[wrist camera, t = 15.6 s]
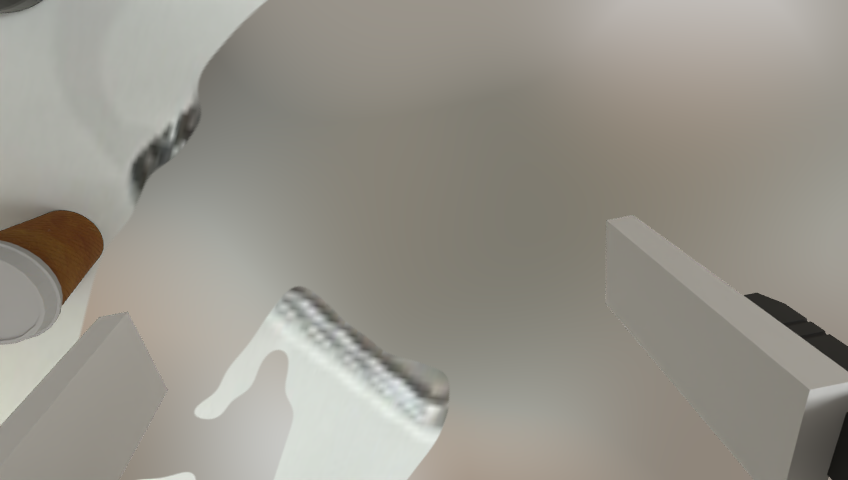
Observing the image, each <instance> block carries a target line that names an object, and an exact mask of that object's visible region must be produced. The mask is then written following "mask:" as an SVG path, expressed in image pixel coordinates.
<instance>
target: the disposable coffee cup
mask: <svg viewBox="0 0 848 480" xmlns="http://www.w3.org/2000/svg"><path fill="white" fill-rule="evenodd" d="M102 251H103V239H102V235H101V233H100V232H99V230H98V228H97V227H96V226H95V225H94V224H93V223H92V222H91V221H89V220H88V219H87V218H85V217H84V216H82V215H80V214H77V213H74V212H70V211H62V210H59V211H53V212H50V213H47V214H45V215H42V216H39V217H37V218H34V219H31V220H29V221H26V222H23V223H21V224H18V225H15V226H13V227H10V228H7V229H5V230H2V231H0V345H1V344H12V343H18V342H20V341H22V340H25V339H29V338H32V337H35V336H38V335H40V334H42V333H44V332H45V331H46V330H48V329H49V328H50V327H51V326H52V325H53V324H54V323H55V321H56V320H57V318H58V316H59V314H60V312H61V306H62V305H63V304H64V302H65V301H66V300H67V298H68V297H69V296H70V294H71V293H72V292H73V290H74V289H75V288H76V286H77V285H78V284H79V282H81V280H82V278H84V276H85V275H86V274H87V272H88V271H89V270H90V268H91V267H92V266H93V264H94V263H95V262H96V260H97V259H98V258H99V257H100V255H101V254H102Z"/></svg>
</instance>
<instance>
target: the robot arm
mask: <svg viewBox="0 0 848 480" xmlns="http://www.w3.org/2000/svg"><path fill="white" fill-rule="evenodd" d="M40 1H42V0H0V13H9V12H16V11H20V10H23V9H26V8H29V7H31V6H33V5H35V4H37V3H39V2H40ZM605 303H606V305H607V306H608V307H609V309H610V310H611V311H612V312H613V313H614V314H615V316H616V317H617V318H618V319H619V320H620V322H621V323H622V324H623V325H624V326H625V328H626V329H627V330H628V331H629V332H630V333H631V335H632V336H633V337H634V338H635V339H636V341H637V342H638V343H639V344H640V345H641V347H642V348H643V349H644V350H645V351H646V352H647V354H648V355H649V356H650V357H651V358H652V359H653V361H654V362H655V363H656V364H657V365H658V367H659V368H660V369H661V370H662V371H663V373H664V374H665V375H666V376H667V377H668V379H669V380H670V381H671V382H672V383H673V384H674V386H675V387H676V388H677V389H678V390H679V392H680V393H681V394H682V395H683V396H684V397H685V398H686V400H687V401H688V402H689V403H690V405H691V406H692V407H693V408H694V409H695V411H696V412H697V413H698V414H699V415H700V417H701V418H702V419H703V420H704V421H705V422H706V424H707V425H708V426H709V427H710V428H711V429H712V431H713V432H714V433H715V434H716V436H717V437H718V438H719V439H720V440H721V441H722V443H723V444H724V445H725V446H726V447H727V449H728V450H729V451H730V452H731V453H732V455H733V456H734V457H735V458H736V459H737V460H738V462H739V463H740V464H741V465H742V466H743V468H744V469H745V470H746V471H747V472H748V473H749V475H750V476H751V477H752V478H753V479H754V480H828V477H830V478H831V479H832V480H848V346H846V345H845V344H843V343H842V342H840V341H839V340H837V339H836V338H835V337H833V336H831V335H830V334H829V335H826V333H825V331H824V330H823V329H821V328H820V327H818V326H817V325H815V324H814V323H812V322H807V319H806V318H805V317H803V316H802V315H801V314H799V313H798V312H796V311H795V310H793V309H792V308H790V307H789V306H787V305H786V304H784V303H782V302H779V301H777V300H774V299H771V298H769V297H766V296H764V295H761V294H759V293H754V294H748V295H742V294H741V293H739V292H738V291H737V290H735V289H734V288H733V287H731V286H730V285H728V284H727V283H726V282H724V281H723V280H722V279H720V278H719V277H718V276H716V275H715V274H713V273H712V272H711V271H709V270H708V269H707V268H705V267H704V266H702V265H701V264H700V263H698V262H697V261H696V260H694V259H693V258H691V257H690V256H689V255H687V254H686V253H685V252H683V251H682V250H681V249H679V248H678V247H676V246H675V245H674V244H672V243H671V242H670V241H668V240H667V239H665V238H664V237H663V236H661V235H660V234H658V233H657V232H656V231H654V230H653V229H652V228H650V227H649V226H648V225H646V224H645V223H643V222H642V221H641V220H639V219H638V218H637V217H635V216H634V215H631V216H626V217H621V218H616V219H611V220H606V299H605ZM167 391H168V389H167V387H166V385H165V383H164V381H163V379H162V377H161V375H160V373H159V371H158V369H157V367H156V365H155V364H154V362H153V360H152V358H151V356H150V354H149V352H148V350H147V348H146V346H145V344H144V342H143V340H142V338H141V336H140V335H139V332H138V331H137V328H136V327H135V325H134V323H133V321H132V319H131V317H130V315H129V313H128V312H124V313H119V314H113V315H108V316H103V317H99V318H98V319H97V320H96V321H95V322H94V323H93V324H92V326H91V327H90V328H89V329H88V330H87V331H86V332H85V333H84V334H83V336H82V337H81V338H80V339H79V340H78V341H77V342H76V343H75V344H74V345H73V347H72V348H71V349H70V350H69V351H68V352H67V353H66V354H65V355H64V356H63V358H62V359H61V360H60V361H59V362H58V363H57V364H56V365H55V366H54V367H53V369H52V370H51V371H50V372H49V373H48V374H47V375H46V376H45V377H44V379H43V380H42V381H41V382H40V383H39V384H38V385H37V386H36V387H35V388H34V390H33V391H32V392H31V393H30V394H29V395H28V396H27V397H26V398H25V400H24V401H23V402H22V403H21V404H20V405H19V406H18V407H17V408H16V409H15V411H14V412H13V413H12V414H11V415H10V416H9V417H8V418H7V419H6V421H5V422H4V423H3V424H2V425H1V426H0V480H120V478H121V476H122V474H123V472H124V470H125V469H126V466H127V465H128V463H129V461H130V459H131V457H132V456H133V454H134V452H135V450H136V448H137V446H138V444H139V443H140V441H141V439H142V437H143V435H144V433H145V432H146V430H147V428H148V426H149V424H150V422H151V420H152V419H153V417H154V415H155V413H156V411H157V409H158V407H159V406H160V404H161V402H162V400H163V398H164V396H165V394H166V393H167Z"/></svg>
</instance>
